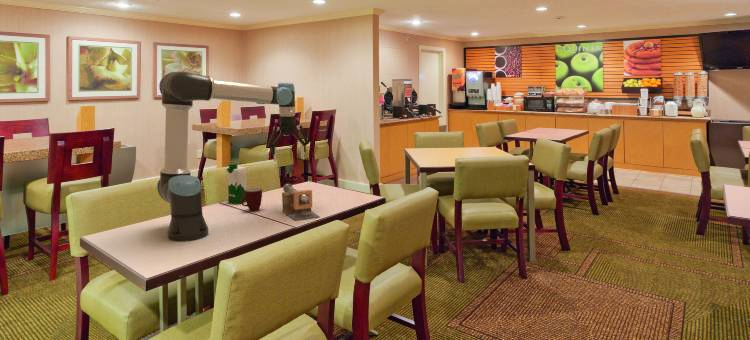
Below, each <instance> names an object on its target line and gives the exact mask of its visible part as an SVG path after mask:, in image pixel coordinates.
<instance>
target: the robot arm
mask: <svg viewBox="0 0 750 340" xmlns="http://www.w3.org/2000/svg"><path fill="white" fill-rule="evenodd" d="M277 84H278V85H277V86H274V85H273V86H272V85H263V84H255V83H246V82H238V81H229V80H221V79H213V77H212V76H209V75H204V74H202V75H201V74H197V73H193V72H188V71H183V70H182V71H172V72H168V73H166V74H165V75H164V76H163V77H161V79H160V81H159V84H158V85H159V86H158V87H159V92H160V94H161V105H162V106H163V108H164V109H165V128H164V129H165V130H164V131H165V135H164V167H163V168H162V169H161V170H160V174H159V175H160V176H159V179H158V181H157V183H156V191H157V193H158V195H159V197H160V198H161V199H162V200H163V201H165V202H166V203H169V205H170V218H171V219H170V222H169V225H168V229H167V238H168V240H171V241H175V240H176V242H178V241H179V242H180V241H181V242H183V241H186V240H188V241H194V240H198V239H202V238H205V237H206V236H207V235H209V227H208V225H207V222H206V220H205V217H204V215H203V214H204V213H203V201H202V185H201V180H200V179H199V178H198V177H197V176H194V175H191V174H192V173H191V170H190V169H188V141H189V140H188V139H189V137H188V136H189V110H191V108H193V107H194V106H193V105H194V103H193V102H195V101H207V102H209V101H211V100H212V99H213V100H214V99H215V100H224V101H236V102H247V103H248V102H249V103H255V104H256V105H278V112H279V113H278V114H279V126H275V125H274V126H273V128H272V132H271V135H270V137H269V139H268V141H267V144H266V146H267V147H269V148H271V151H270V152H271V154H272V155H273V161H274V162H278V152H277V151H278V149H277V147H276V146H277V145H278V143H279V142H280V141H281V139H282V138H283V137H284V136H285V137H286V136H287V137H288V136H294V138H295V139H297V141H298V142H299V143H300V159H301V160H305V153H306V151H307V147H306V146H307V145H309V144H310V140H309V139H308V137H307V135H306V133H305V132H304V128H303V125H301V124H299V125H297V124H296V123H297V121H296V116H295V115H296V98H295V97H296V96H295V94H296V91H295V84H294V83H293V82H278V83H277ZM278 131H280V133H278V136H277V137H276V135H277V132H278ZM296 131H299V133H300V135H301V136H300V135H299V134H298V132H296ZM275 137H276V138H275Z"/></svg>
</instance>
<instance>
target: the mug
mask: <svg viewBox="0 0 750 340" xmlns="http://www.w3.org/2000/svg"><path fill="white" fill-rule="evenodd" d="M262 198H263V190H262V188H259V187H252V188H251V187H250V188H247V189H245V196H244V197H242V199H241V205H242V206H243V207H247V208H248V210H250V212H256V211H259V209H260V207H261V205H262V201H263V200H262ZM244 199H246V202H245V203H246V204H245V203H243V200H244Z"/></svg>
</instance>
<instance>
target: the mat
mask: <svg viewBox="0 0 750 340" xmlns="http://www.w3.org/2000/svg"><path fill="white" fill-rule="evenodd" d="M286 216H287V217H289V218H290V219H291V220H293V221H295V222H297V221H303V220H310V219H319V218H321V216H320V215H318V214H317V213H315V212H313V211H312V210H311V211H307V212H300V213H292V214H287V215H286Z"/></svg>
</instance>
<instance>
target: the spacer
mask: <svg viewBox="0 0 750 340" xmlns="http://www.w3.org/2000/svg"><path fill="white" fill-rule="evenodd" d="M305 194H307V196H308V197H309V201H308V202H307V204H300V205H299V195H305ZM293 195H294V209H295V210H297V209H305V208H311V209H312V208H313V190H312V189H302V190H301V191H300V190H298V191H293Z"/></svg>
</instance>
